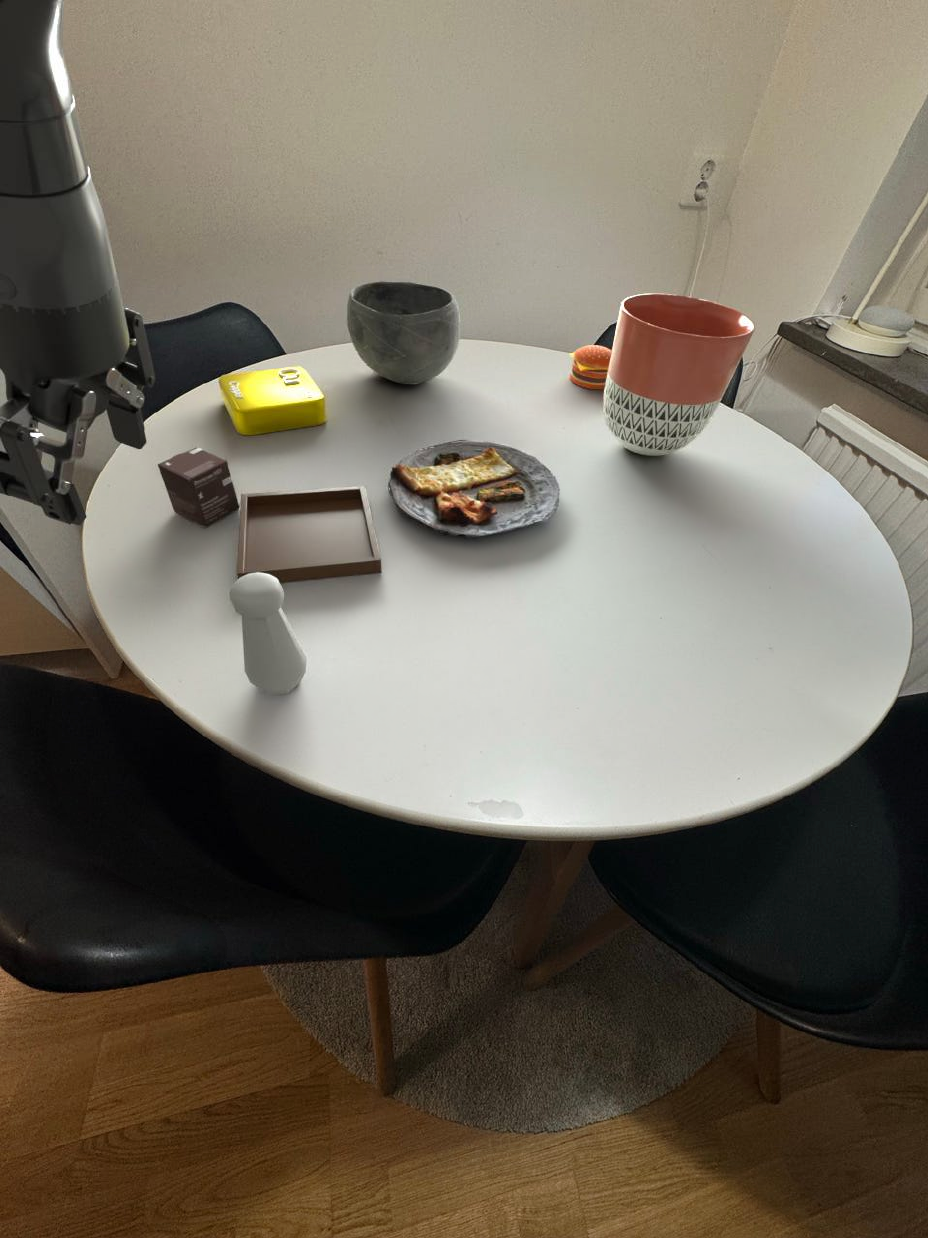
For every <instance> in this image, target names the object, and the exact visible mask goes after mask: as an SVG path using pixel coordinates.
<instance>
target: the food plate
mask: <svg viewBox="0 0 928 1238" xmlns="http://www.w3.org/2000/svg"><path fill="white" fill-rule="evenodd" d="M389 474H390V475H389V480H388V484H387V487H388V489H389V493H390V496H391V498H392V500H393V502H394V504H395V506H396V508H397V509H398V510H399V511H400V512H401V513H402V514H403V515H404V516H406V517H408V518H410V519H411V520H414V521H416V522H418V523H420V524H422V525H424V526H425V527H426V528H428V529H429V530H433V531H436V532H437V533H444V536H447V532H448V533H449V534H448V535H451V536H453V537H457V536H459V535H464V536H465V537H466V538H469V539H470V538H478V537H488V535H494V534H499V533H505V532H509V531H510V532H511V531H514V530H515V529H520V528H525V527H528V526H529V525H531V524H534V523H545V522H547V521H548V520H550V519H551V518H552V517H553V516H554V515H555V514H556V512H557V511H558V508H559V507H560V505H559V504H560V493H561V492H560V491H561V489H560V485H559V483H558V481H557V478H556V476H555V475H554V473H553V472H552V470H550V469H549V468H548V467H546V465H545V464H544V463H542V462H541V461H540V460H539V459H538V458H537V457H536V456H533V455H531V454H529V453H527V452H524V451H522V450H520V449H519V448H517V447H512V446H510V445H507V444H503V443H500V442H495V441H493V442H492V441H486V440H485V441H479V440H478V441H476V440H466V439H458V440H452V441H447V442H443V443H438V444H434V445H431V446H427V447H423V448H420V449H417V450H415V451H412V452H410V453H408V454H406V455H405V456H404V457H403V458H402V459H401V460H400V461H399V462H398V464H396V465H395V466H392V468H391V471H390V473H389Z"/></svg>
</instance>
